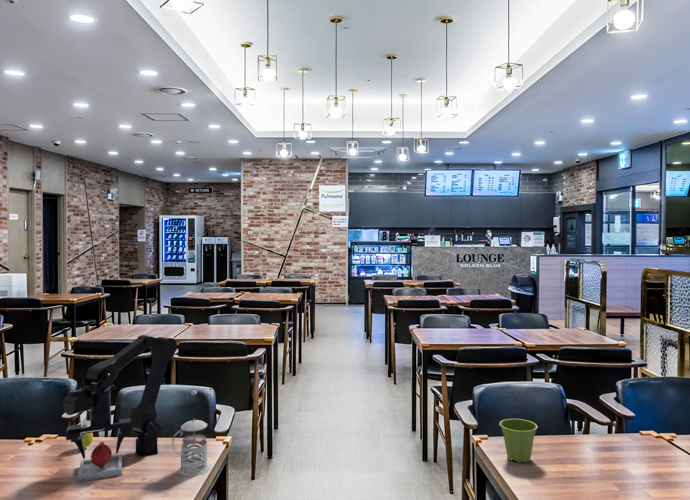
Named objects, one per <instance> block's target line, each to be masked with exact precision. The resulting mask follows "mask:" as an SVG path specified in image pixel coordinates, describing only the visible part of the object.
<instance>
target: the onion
mask: <svg viewBox="0 0 690 500" xmlns="http://www.w3.org/2000/svg"><path fill="white" fill-rule="evenodd" d="M112 454H113V453H112V450H111V448H110V446H108V445H107V444H105V441H99V444H98V445H96V446H95V448H94V449H93V450H92V452H91V455H90V459H91V460H92V462H93V464H94V465H96V466H98V467H100V468H102V467H104V465H105V464H107V463H108V462H109V460H110V459H111V456H113V455H112Z"/></svg>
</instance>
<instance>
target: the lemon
mask: <svg viewBox="0 0 690 500" xmlns="http://www.w3.org/2000/svg"><path fill="white" fill-rule="evenodd" d="M83 427H88V426H87V423H83V425H82V428H83ZM93 440H94V434H93V433H86V434H83V441H84V448H85V449H86V448H87V447H89V446H90V445H91V444H92V443H93Z"/></svg>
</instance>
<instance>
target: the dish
mask: <svg viewBox="0 0 690 500" xmlns="http://www.w3.org/2000/svg"><path fill="white" fill-rule="evenodd" d="M122 475H123V454H114V455H112V456H111V459H110V460H109V462H108V463H107V464H105V465H104V467H102V468H100V467H98V466H96V465H94V464H93V462H92V460H91V458H88V459H82V460H80V462H79V469H78V472H77V483H82V482H87V481H93V480H94V481H95V480H101V479H106V478H112V477H117V476H122Z"/></svg>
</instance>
